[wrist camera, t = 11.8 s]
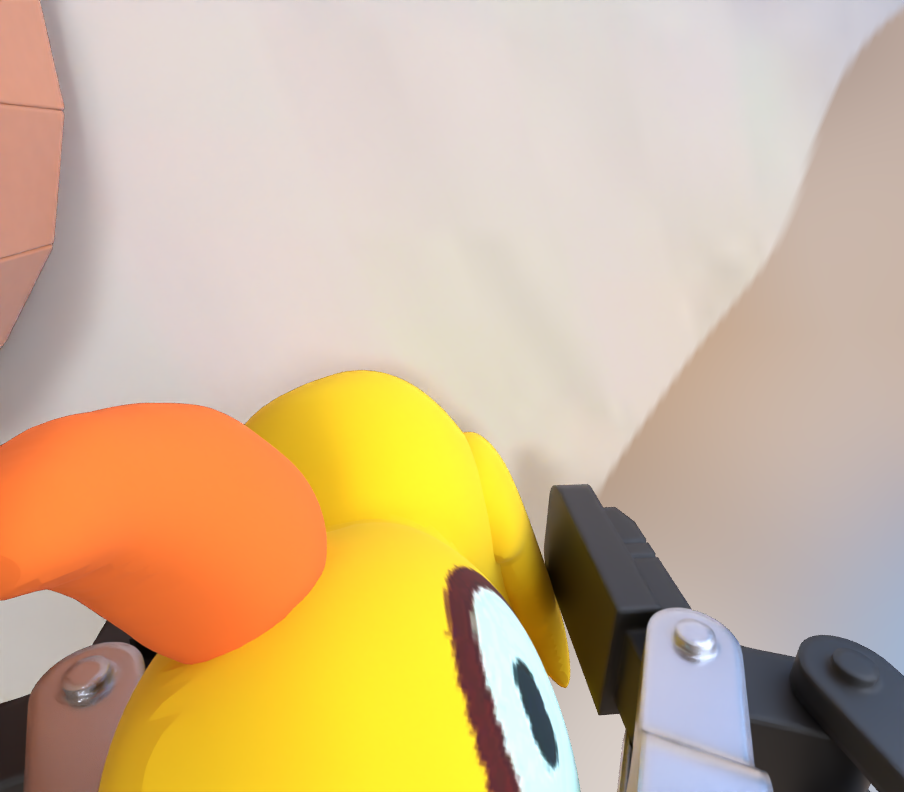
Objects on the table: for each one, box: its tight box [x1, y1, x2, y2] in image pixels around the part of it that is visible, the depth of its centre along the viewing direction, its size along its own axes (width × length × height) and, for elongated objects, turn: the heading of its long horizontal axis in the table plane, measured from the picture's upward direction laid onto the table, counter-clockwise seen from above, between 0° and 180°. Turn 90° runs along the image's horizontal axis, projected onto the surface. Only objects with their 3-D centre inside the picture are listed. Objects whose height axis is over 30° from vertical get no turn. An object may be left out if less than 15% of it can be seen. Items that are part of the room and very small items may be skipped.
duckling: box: [0, 370, 581, 792], centre depth 9 cm, size 11×5×10 cm, turn 23°
